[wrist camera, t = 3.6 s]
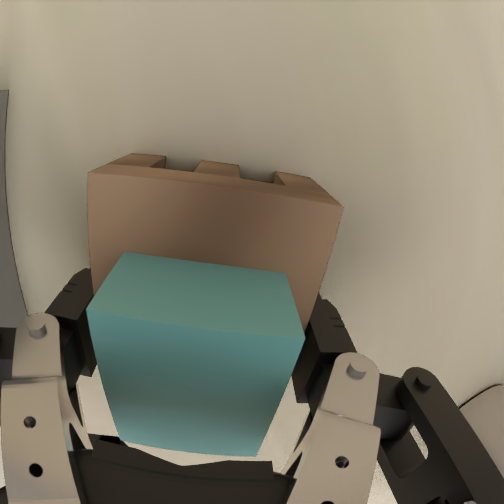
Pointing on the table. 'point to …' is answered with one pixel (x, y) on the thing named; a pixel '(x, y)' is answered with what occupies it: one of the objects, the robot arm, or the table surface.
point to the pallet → (212, 220)
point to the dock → (7, 245)
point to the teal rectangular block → (194, 352)
